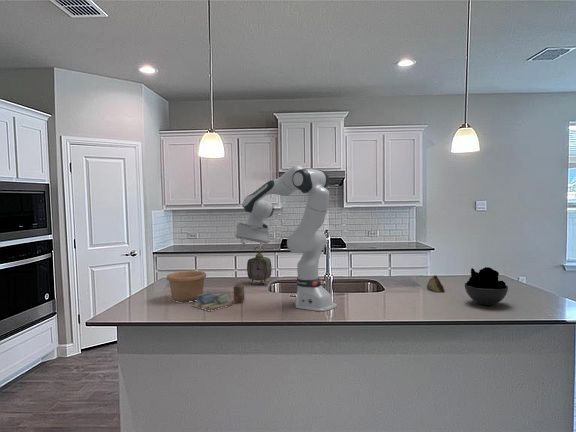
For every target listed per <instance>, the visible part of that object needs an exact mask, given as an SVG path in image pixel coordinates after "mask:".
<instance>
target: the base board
mask: <svg viewBox="0 0 576 432" xmlns="http://www.w3.org/2000/svg"><path fill="white" fill-rule="evenodd" d="M232 304H233V303H232V301H230V300H229V295H228V294H224V293H220V292H219V293H217V294H214V293H210V292H205V293H203V294H200V295H197V301H195V302H191V306H192V305H194V306H197V307H200V308H203V309H206V310H205V311H207V310H210V311H209V312H212V311H211V310H214V311H216V310H215V309H218V308H221V307H225V306H228V307H230V306H229V305H232ZM197 307H196V308H197ZM200 308H199V309H200ZM225 308H226V307H225ZM203 309H202V310H203ZM221 309H222V308H221ZM218 310H219V309H218Z"/></svg>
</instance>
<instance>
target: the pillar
mask: <svg viewBox="0 0 576 432" xmlns="http://www.w3.org/2000/svg"><path fill="white" fill-rule="evenodd" d="M243 301H244V302H245V284H244V285H242V284H240V285H239V284H236V285H234V286H233V303H234V302H235V303H234V304H241V303H242V302H243ZM244 302H243V303H244ZM243 303H242V304H243Z"/></svg>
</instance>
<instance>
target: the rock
mask: <svg viewBox="0 0 576 432" xmlns="http://www.w3.org/2000/svg"><path fill="white" fill-rule="evenodd" d="M426 289H427V290H430V291H431V292H436V293H446V290H445V287H444V285H443V284H442V283H441V280H440V279H439V278H438V276H437V275H436V274H434V275H433V276H431V278H430V279H429V280H428V282H427V284H426Z"/></svg>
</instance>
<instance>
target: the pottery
mask: <svg viewBox="0 0 576 432" xmlns="http://www.w3.org/2000/svg"><path fill="white" fill-rule="evenodd" d="M206 277H207V273H206V272H204V271H198V270H186V271H185V270H183V271H178V272H177V271H176V272H173V273H169V274H167V275H166V280H167V281H168V282H169V286H170V293H171V298H172V299H173V300H174V301H178V302H189V301H195V300H197V295H200V294H204V293H203V292H204V283H205V278H206ZM172 299H171V300H172ZM173 300H172V301H173ZM174 301H173V302H174ZM195 302H196V301H195Z"/></svg>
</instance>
